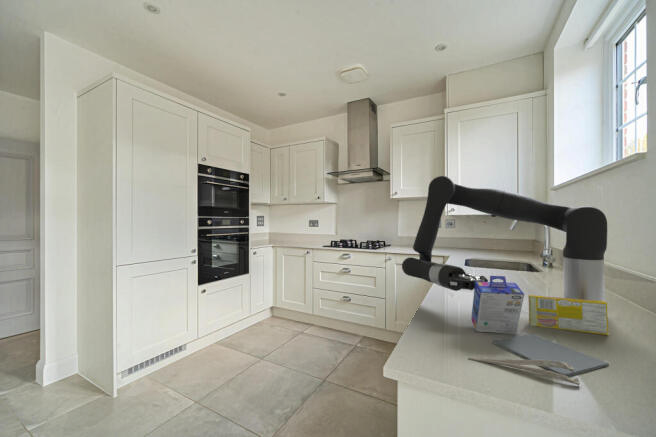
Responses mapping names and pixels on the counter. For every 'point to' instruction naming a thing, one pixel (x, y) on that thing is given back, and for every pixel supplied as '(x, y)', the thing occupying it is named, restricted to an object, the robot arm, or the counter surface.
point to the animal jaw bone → (544, 363)
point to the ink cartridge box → (496, 306)
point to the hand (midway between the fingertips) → (494, 288)
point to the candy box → (568, 314)
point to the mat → (550, 353)
